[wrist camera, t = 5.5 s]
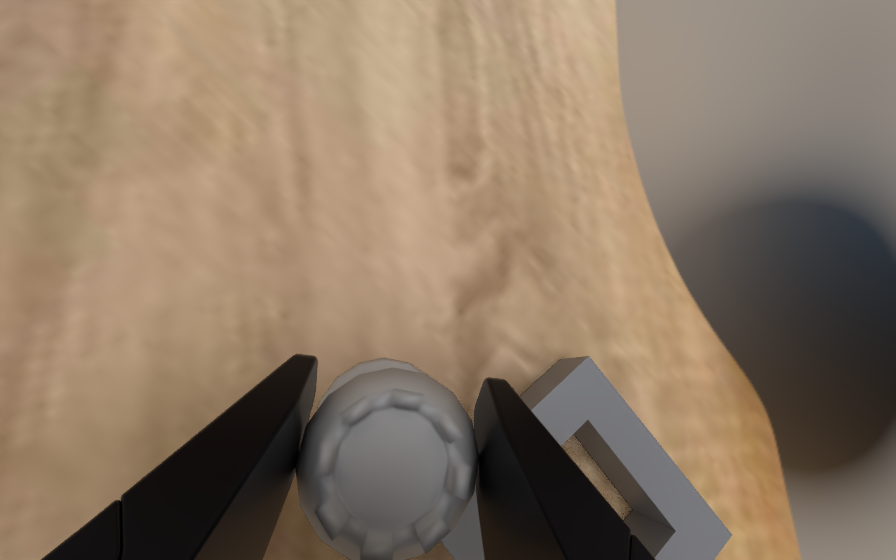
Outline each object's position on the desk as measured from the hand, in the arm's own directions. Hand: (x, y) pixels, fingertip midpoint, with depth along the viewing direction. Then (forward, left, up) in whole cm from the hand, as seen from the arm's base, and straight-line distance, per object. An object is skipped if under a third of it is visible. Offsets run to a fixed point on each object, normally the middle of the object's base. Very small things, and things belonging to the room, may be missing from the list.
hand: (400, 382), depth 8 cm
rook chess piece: (-1, -1, -7) cm, 7 cm away
